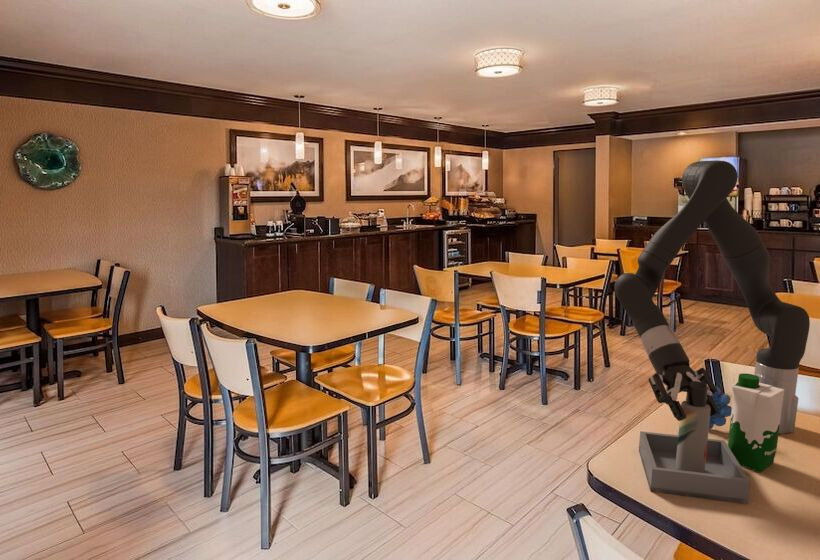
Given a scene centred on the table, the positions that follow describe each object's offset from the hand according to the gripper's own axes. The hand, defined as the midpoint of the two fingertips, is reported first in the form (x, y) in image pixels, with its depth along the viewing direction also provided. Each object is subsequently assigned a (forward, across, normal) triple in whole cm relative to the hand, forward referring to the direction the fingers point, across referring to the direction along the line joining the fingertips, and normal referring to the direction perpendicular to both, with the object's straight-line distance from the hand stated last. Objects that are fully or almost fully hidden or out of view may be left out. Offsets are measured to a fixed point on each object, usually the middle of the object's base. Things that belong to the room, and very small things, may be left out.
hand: (698, 417), depth 116 cm
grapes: (-3, +23, +24) cm, 33 cm away
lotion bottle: (+8, +1, +11) cm, 13 cm away
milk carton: (+9, +18, +12) cm, 23 cm away
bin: (+9, 0, +11) cm, 14 cm away
